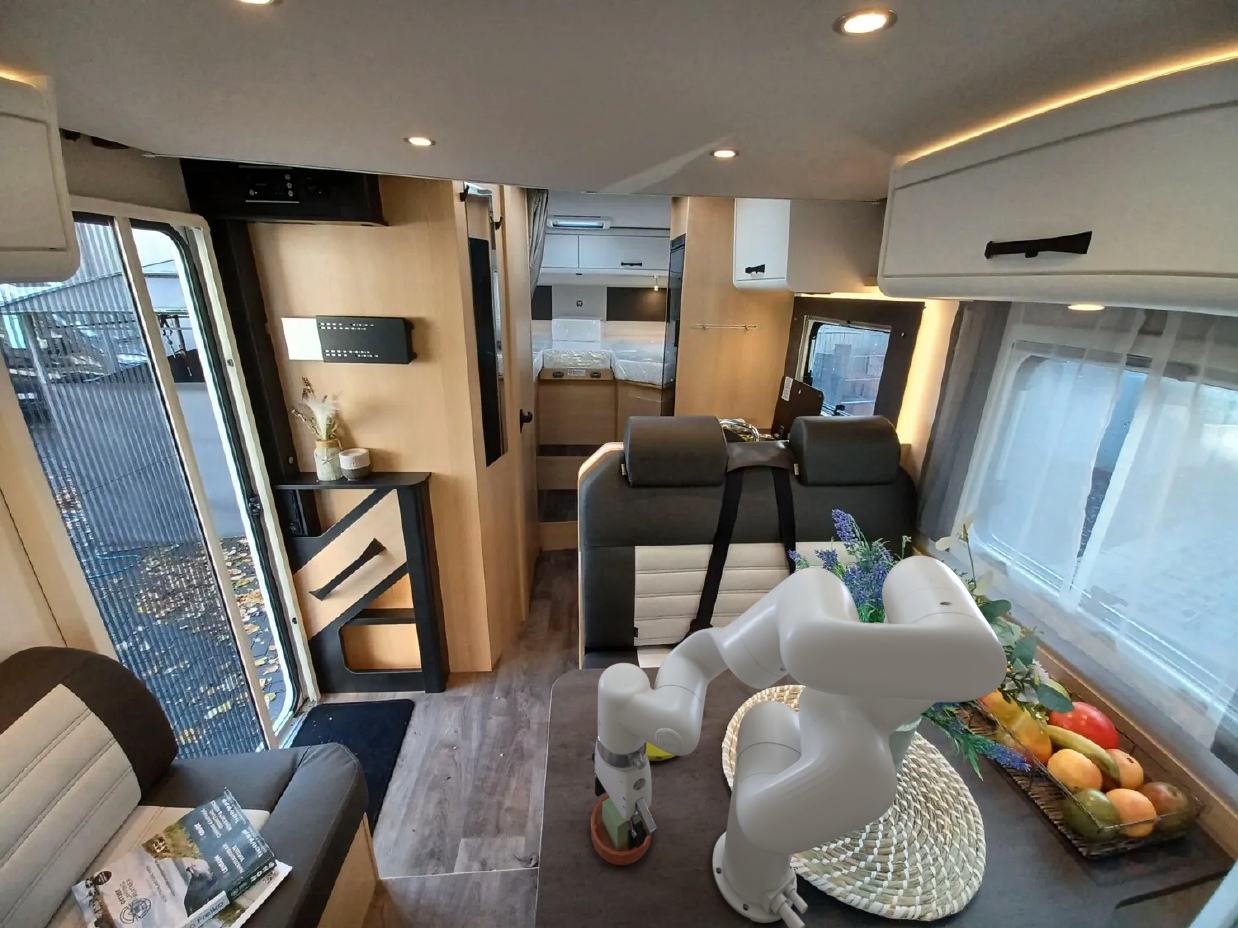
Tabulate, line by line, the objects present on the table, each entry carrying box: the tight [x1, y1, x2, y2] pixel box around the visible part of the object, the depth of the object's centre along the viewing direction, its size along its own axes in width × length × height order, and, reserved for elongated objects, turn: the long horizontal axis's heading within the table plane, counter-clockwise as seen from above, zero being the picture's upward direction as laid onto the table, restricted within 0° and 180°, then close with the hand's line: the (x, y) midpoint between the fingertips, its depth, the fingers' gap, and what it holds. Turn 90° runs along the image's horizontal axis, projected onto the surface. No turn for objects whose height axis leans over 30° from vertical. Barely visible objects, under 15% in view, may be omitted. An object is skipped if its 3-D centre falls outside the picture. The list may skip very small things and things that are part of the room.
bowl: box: [590, 793, 653, 866], centre depth 80 cm, size 10×10×3 cm
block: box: [602, 797, 641, 851], centre depth 79 cm, size 5×5×6 cm
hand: (619, 815), depth 79 cm, fingers open, 9 cm apart
